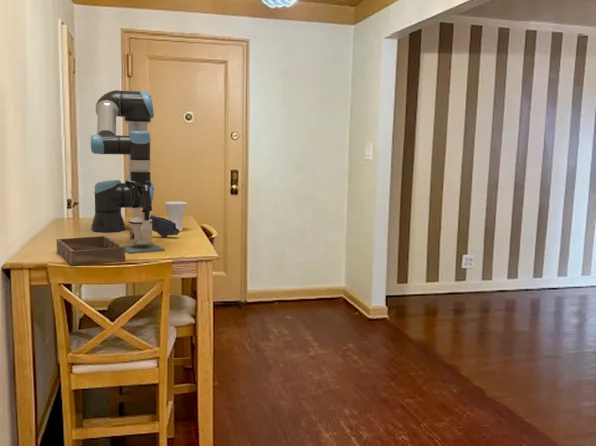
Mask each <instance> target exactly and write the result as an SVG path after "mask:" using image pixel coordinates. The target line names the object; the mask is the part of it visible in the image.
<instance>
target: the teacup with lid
mask: <svg viewBox="0 0 596 446" xmlns="http://www.w3.org/2000/svg"><path fill="white" fill-rule="evenodd" d="M152 222H153V221H152V219H150V229H142V212H140V214H138V216H137V217H135V218H133V219H132V218H131V219H129V220H128V223H129V243H130V244H131V245H137V244H149V243H153V230H152Z"/></svg>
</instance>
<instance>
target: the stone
mask: <svg viewBox="0 0 596 446" xmlns="http://www.w3.org/2000/svg"><path fill="white" fill-rule="evenodd" d="M150 219H152V221H153V222H152V232H154V233H155V232H156V233H157V234H158V235H159V236H160V237H162V238H167V237H168V236H178V234H180V232H181V231H179V229H176V223H174V222H172V221H169V219H167V218H164V217H161V216H156V215H153V214H151V215H150Z"/></svg>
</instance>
